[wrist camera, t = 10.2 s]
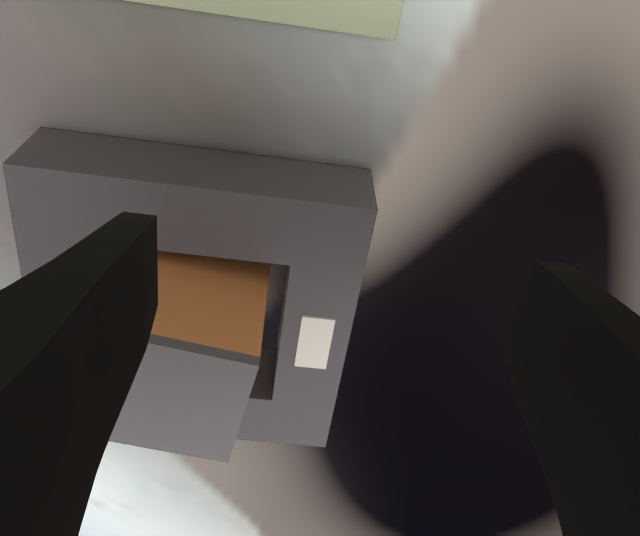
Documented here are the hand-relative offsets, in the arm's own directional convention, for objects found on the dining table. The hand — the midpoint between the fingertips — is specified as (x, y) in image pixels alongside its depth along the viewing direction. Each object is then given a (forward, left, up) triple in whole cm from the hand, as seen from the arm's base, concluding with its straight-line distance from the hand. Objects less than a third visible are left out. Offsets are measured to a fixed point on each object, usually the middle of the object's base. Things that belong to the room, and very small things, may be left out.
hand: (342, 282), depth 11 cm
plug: (-4, -8, -10) cm, 14 cm away
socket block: (-4, -8, -10) cm, 14 cm away
